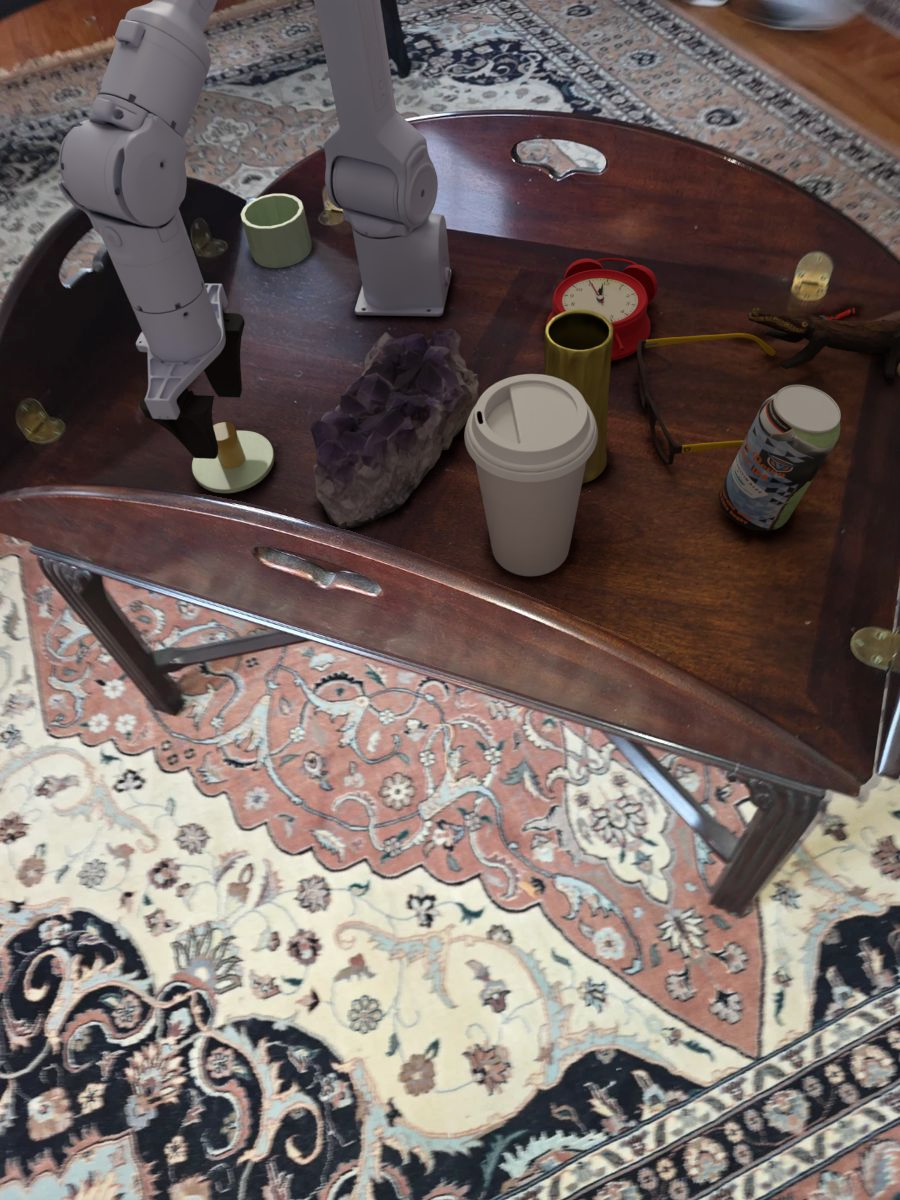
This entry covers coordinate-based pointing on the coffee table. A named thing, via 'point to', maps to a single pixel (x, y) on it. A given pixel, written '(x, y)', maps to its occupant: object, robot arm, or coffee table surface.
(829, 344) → the toy
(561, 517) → the coffee cup
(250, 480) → the lid
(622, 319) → the alarm clock
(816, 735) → the coffee table surface
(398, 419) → the geode
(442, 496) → the coffee table surface
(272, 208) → the tin
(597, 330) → the vase
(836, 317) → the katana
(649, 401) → the eyeglasses
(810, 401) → the beverage can
